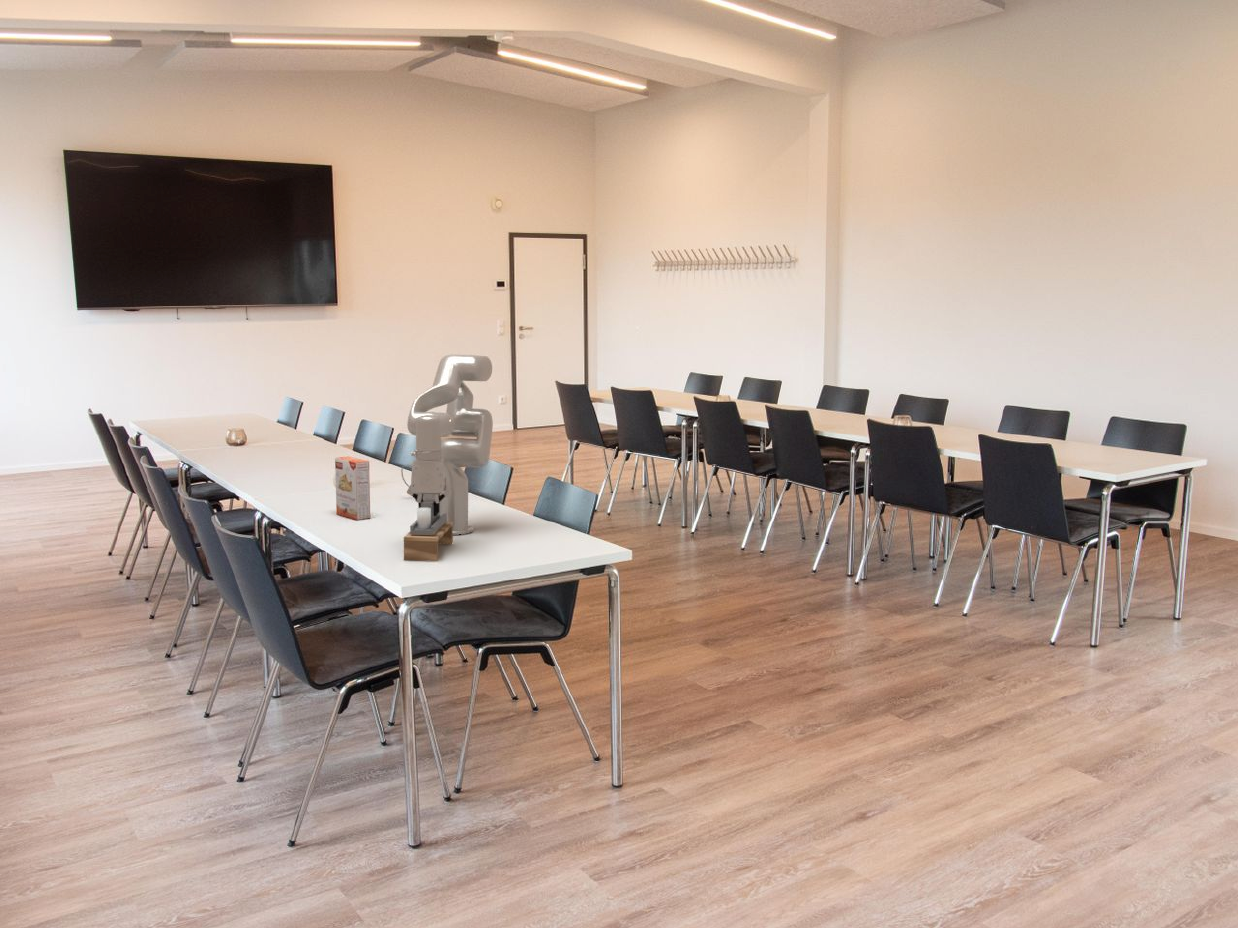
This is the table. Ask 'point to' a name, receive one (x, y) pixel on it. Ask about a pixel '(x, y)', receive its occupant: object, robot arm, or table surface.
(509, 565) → the table surface
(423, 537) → the curved wooden channel
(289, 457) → the table surface
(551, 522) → the table surface
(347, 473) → the cracker box
